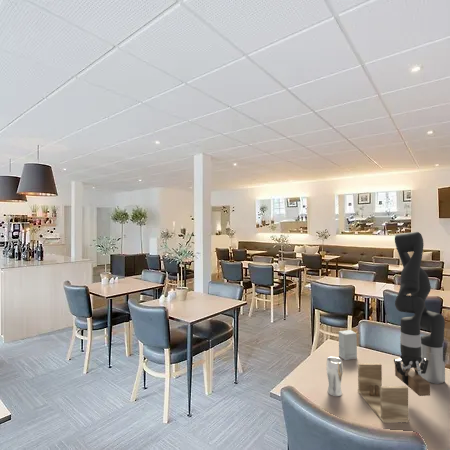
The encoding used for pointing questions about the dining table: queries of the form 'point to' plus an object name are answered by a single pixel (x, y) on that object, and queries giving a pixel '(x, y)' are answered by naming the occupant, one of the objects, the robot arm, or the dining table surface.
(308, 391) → the dining table surface
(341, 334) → the skincare box
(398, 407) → the peg jig
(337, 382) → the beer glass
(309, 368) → the dining table surface
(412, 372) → the shelf board
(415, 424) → the dining table surface
